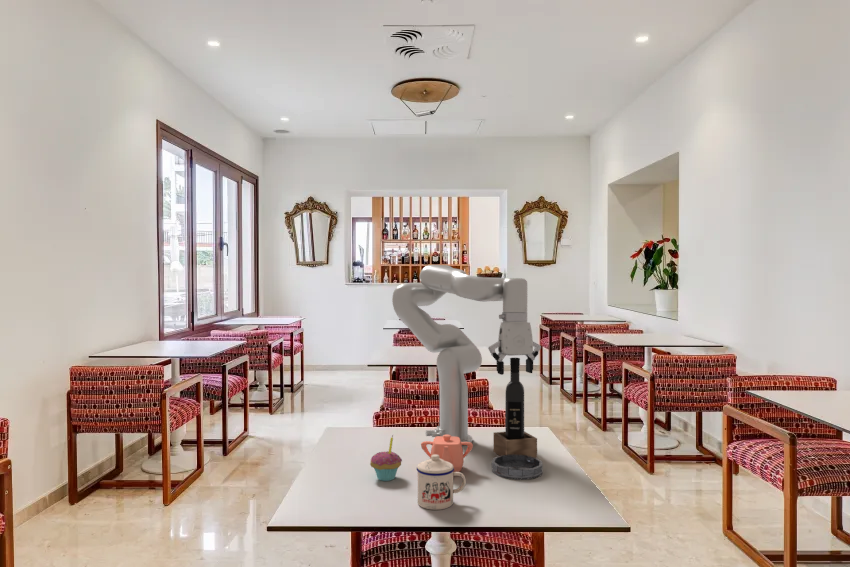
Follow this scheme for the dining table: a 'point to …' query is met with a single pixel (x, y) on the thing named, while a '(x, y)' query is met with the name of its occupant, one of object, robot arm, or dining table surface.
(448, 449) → the teapot
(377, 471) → the cupcake
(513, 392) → the wine bottle
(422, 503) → the teacup with lid
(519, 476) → the serving bowl
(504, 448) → the open square wooden box
